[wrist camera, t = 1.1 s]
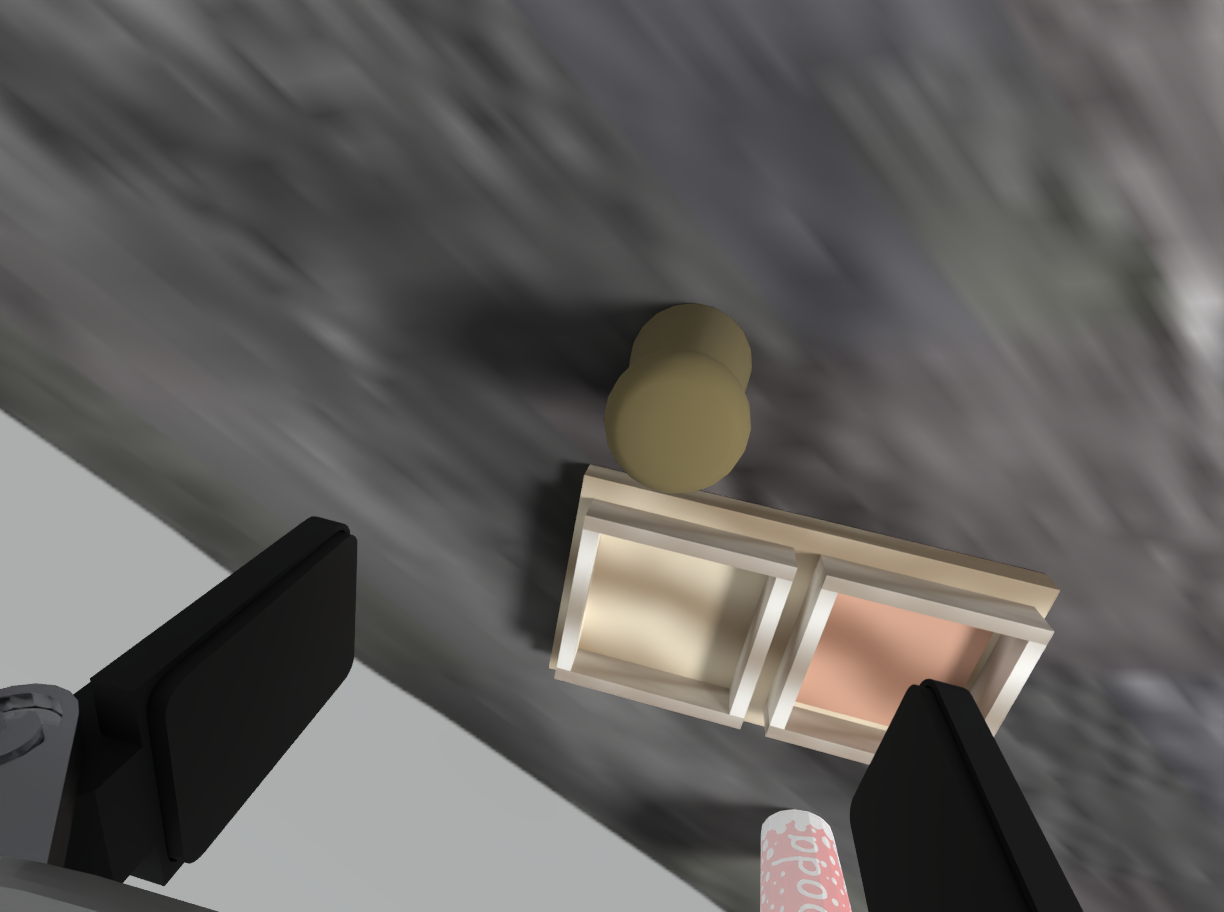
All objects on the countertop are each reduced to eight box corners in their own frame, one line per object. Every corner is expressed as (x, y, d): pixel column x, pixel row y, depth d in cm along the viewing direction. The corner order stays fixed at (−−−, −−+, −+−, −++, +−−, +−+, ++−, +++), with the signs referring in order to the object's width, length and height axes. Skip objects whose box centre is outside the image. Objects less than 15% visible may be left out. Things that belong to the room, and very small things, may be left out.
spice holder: (590, 464, 33) (575, 490, 30) (1045, 573, 31) (1082, 614, 28) (555, 651, 38) (539, 691, 35) (945, 757, 36) (967, 809, 33)
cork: (745, 427, 31) (755, 527, 21) (627, 418, 32) (583, 510, 22) (758, 305, 29) (777, 352, 19) (631, 300, 30) (584, 341, 20)
